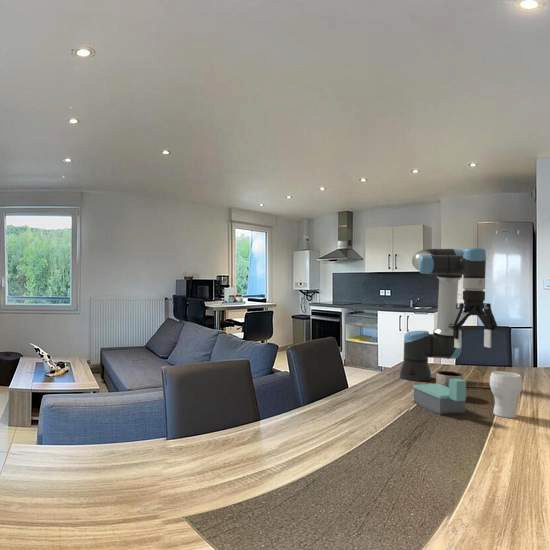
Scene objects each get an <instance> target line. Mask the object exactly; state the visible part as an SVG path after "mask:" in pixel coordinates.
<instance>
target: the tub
mask: <svg viewBox="0 0 550 550" xmlns="http://www.w3.org/2000/svg"><path fill="white" fill-rule="evenodd" d="M413 404H416V405H418V406H419V407H422V408H424V409H426V410H428V411H430V412H433V413H435V414H437V415H438V416H444V415H445V416H446V415H456V414H457V415H458V414H465V413H466V401H455V400H452V399H450V398H443V399H439V398H437V397H435V396H432V395H430V394H427V393H425V392H423V391H420V390H418V389H415V388H413Z"/></svg>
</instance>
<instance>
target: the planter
mask: <svg viewBox="0 0 550 550" xmlns="http://www.w3.org/2000/svg"><path fill="white" fill-rule="evenodd" d="M435 378H436V379H435V384H440V385H443V386H446V387H448V388H449V379H458V378H459V379H462V380H464V374H463V373H461V372H456V371H451V370H450V371H449V370H439V371H436V377H435Z"/></svg>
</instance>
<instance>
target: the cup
mask: <svg viewBox="0 0 550 550" xmlns="http://www.w3.org/2000/svg"><path fill="white" fill-rule="evenodd" d="M522 380H523V379H522V376H521V375H520V374H519V373H515V372H510V371H500V370H498V371H497V370H495V371H492V372H491V373H490V376H489V387H490V390H491V392H492V395H493V397H494V398H493V399H494V406H493V412H492V413H493V415H495V416H498V417H502V418H506V419H507V418H509V419H510V418H511V419H515V418H517V417H518V411H517V400H518V398H519V397H520V395H521V393H522V391H523V381H522Z"/></svg>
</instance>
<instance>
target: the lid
mask: <svg viewBox="0 0 550 550" xmlns="http://www.w3.org/2000/svg"><path fill="white" fill-rule="evenodd" d="M412 388H413V389H414V388H415V389H418V390H420V391H423V392H425V393H427V394H430V395H432V396H435V397H437V398H439V399H443V398H450V399H452V400H455V401H465V402H466V401H467V399H466V398H467V397H468V394H467V380H464V379H463V380H462V379H459V378H458V379H449V388H448V387H446V386H443V385H440V384H436V383H427V384H423V383H422V384H413V385H412Z"/></svg>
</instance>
